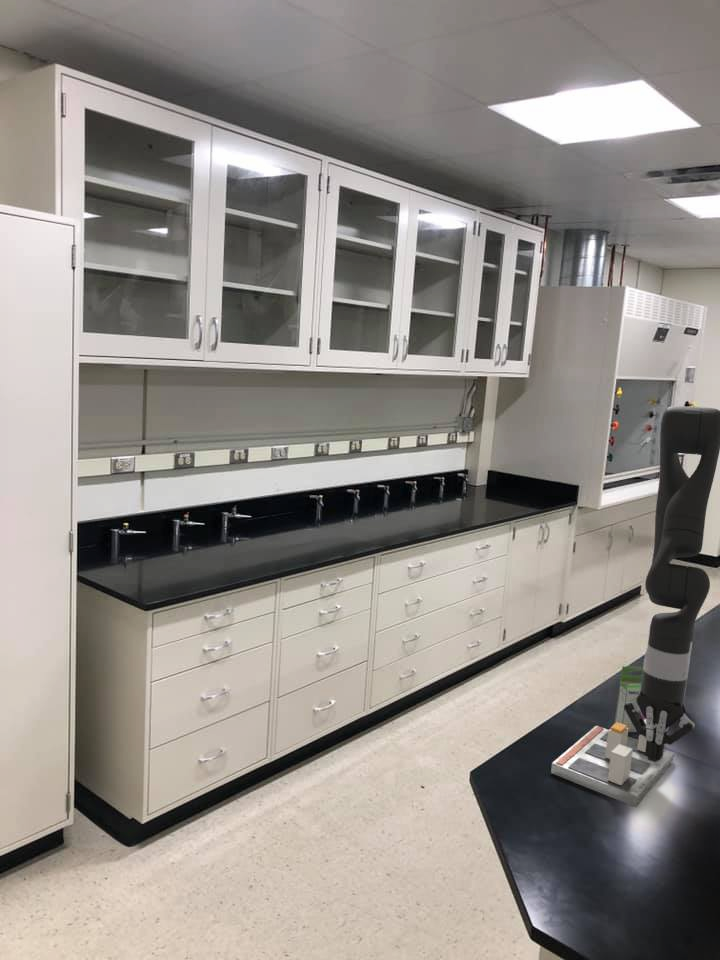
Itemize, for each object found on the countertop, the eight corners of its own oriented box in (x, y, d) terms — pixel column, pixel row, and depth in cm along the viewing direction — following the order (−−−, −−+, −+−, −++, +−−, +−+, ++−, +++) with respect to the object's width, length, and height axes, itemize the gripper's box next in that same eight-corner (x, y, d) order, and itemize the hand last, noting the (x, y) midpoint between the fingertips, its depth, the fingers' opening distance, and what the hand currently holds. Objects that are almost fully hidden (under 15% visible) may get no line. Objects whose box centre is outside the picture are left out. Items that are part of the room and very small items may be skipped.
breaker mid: (612, 750, 150) (616, 720, 149) (625, 754, 148) (629, 725, 148) (604, 757, 147) (608, 727, 146) (617, 762, 145) (621, 732, 144)
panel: (595, 734, 161) (596, 724, 161) (673, 762, 152) (674, 752, 151) (550, 772, 144) (552, 762, 144) (636, 807, 134) (637, 795, 134)
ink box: (622, 733, 163) (630, 673, 161) (613, 724, 167) (621, 665, 165) (652, 733, 164) (661, 673, 162) (643, 724, 168) (651, 666, 166)
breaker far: (643, 742, 154) (647, 717, 153) (656, 747, 153) (660, 721, 152) (637, 749, 151) (640, 723, 150) (650, 754, 149) (653, 727, 149)
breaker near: (615, 772, 142) (619, 744, 141) (629, 777, 140) (632, 748, 139) (607, 780, 138) (611, 751, 138) (621, 785, 137) (625, 756, 136)
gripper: (708, 676, 139) (695, 766, 142) (636, 656, 147) (624, 741, 150) (697, 687, 134) (684, 780, 136) (622, 665, 142) (610, 754, 144)
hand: (653, 759), depth 143 cm, fingers closed
